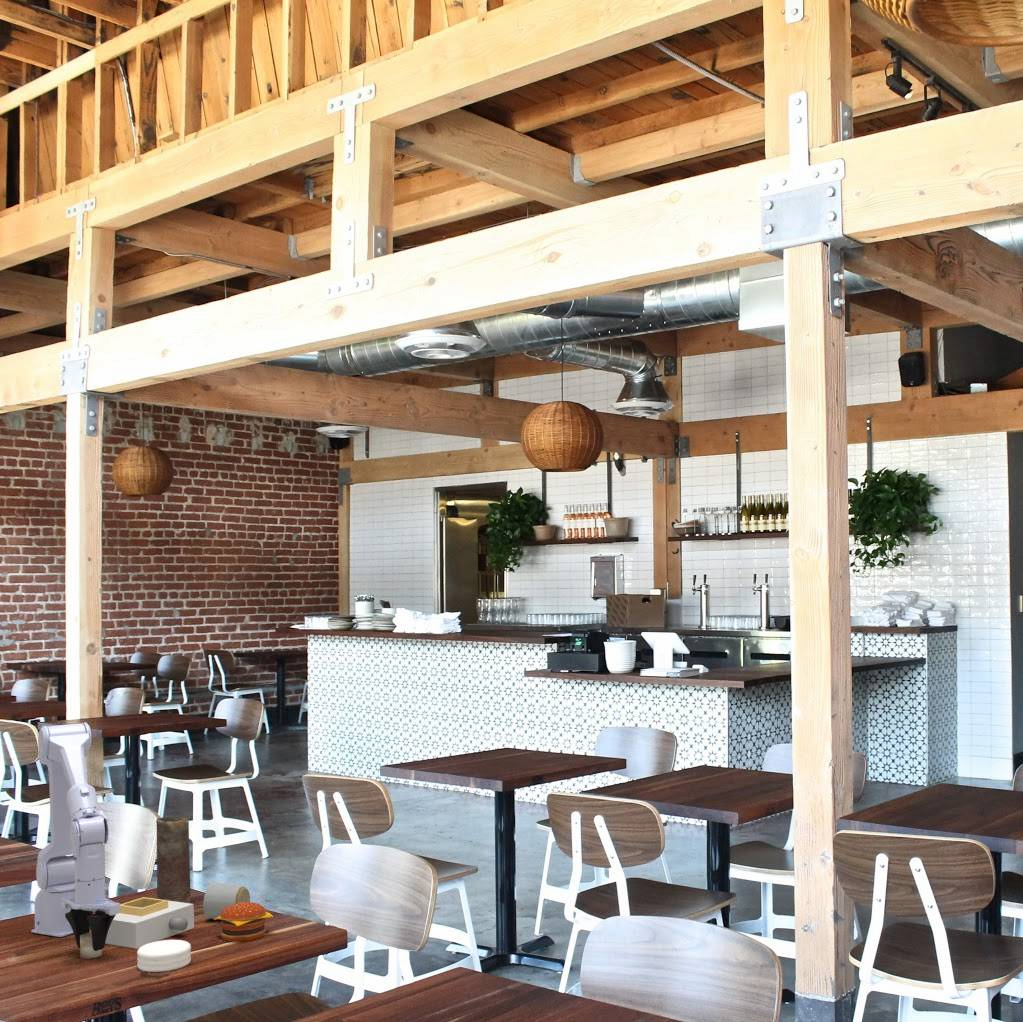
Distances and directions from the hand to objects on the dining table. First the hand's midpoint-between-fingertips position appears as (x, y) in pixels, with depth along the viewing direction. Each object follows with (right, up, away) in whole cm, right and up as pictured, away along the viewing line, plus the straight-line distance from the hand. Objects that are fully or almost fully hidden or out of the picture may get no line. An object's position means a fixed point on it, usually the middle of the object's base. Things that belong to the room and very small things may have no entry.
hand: (90, 948), depth 241 cm
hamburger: (+28, -1, +10) cm, 30 cm away
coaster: (+17, -1, -7) cm, 18 cm away
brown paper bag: (+7, -4, +35) cm, 36 cm away
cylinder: (0, -1, 0) cm, 1 cm away
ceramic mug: (+21, -3, +25) cm, 33 cm away
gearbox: (+8, -2, +13) cm, 15 cm away
